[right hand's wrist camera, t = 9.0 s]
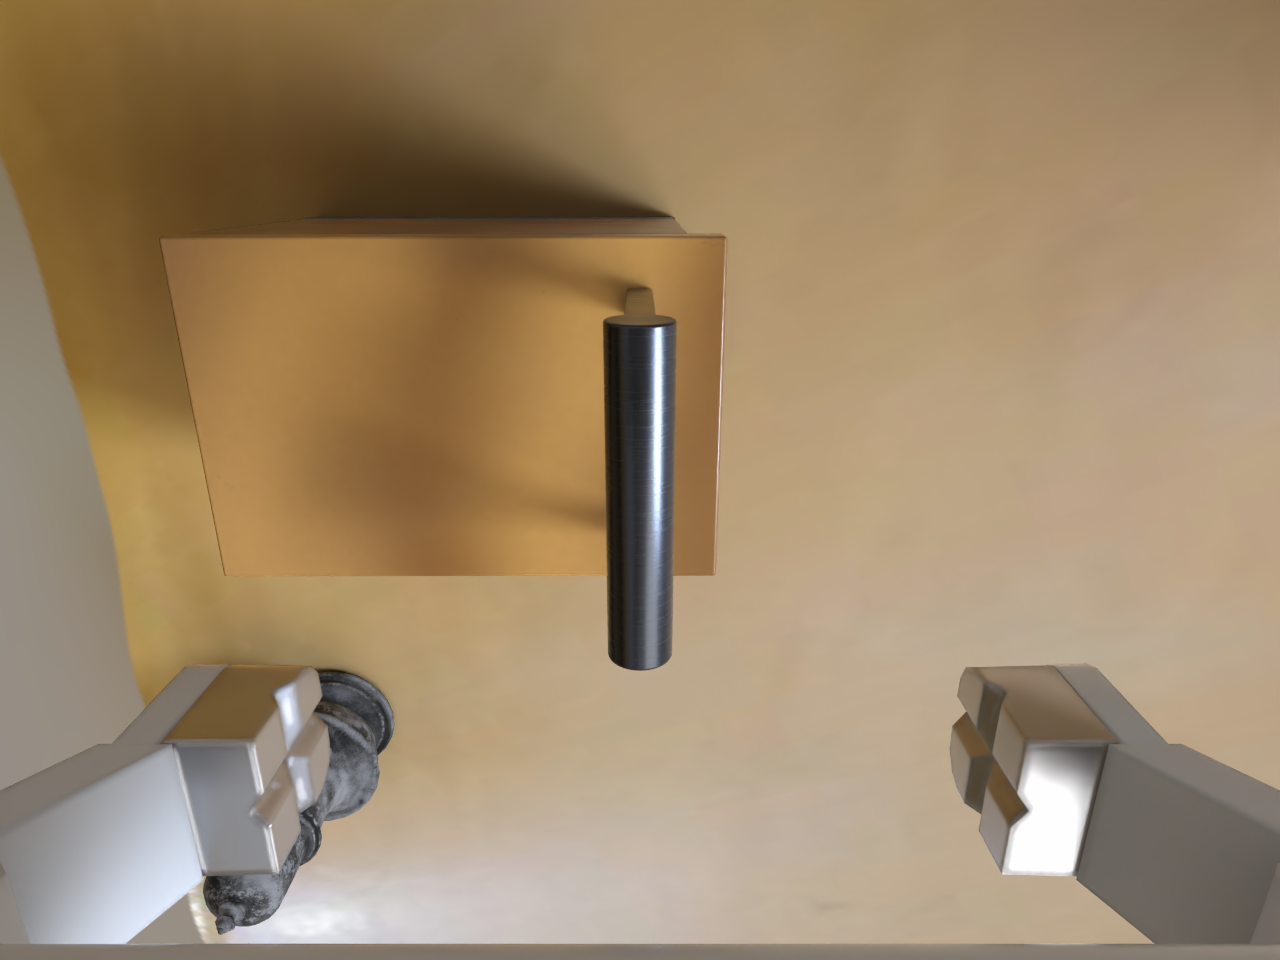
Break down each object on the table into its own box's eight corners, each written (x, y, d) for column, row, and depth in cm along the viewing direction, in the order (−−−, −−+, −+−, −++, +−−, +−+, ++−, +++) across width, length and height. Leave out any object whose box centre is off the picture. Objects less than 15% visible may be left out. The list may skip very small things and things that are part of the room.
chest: (673, 216, 32) (688, 233, 22) (670, 457, 35) (682, 559, 26) (316, 217, 32) (179, 233, 22) (347, 457, 35) (240, 560, 26)
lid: (723, 233, 22) (766, 260, 15) (712, 560, 26) (743, 715, 18) (179, 233, 22) (-51, 261, 15) (240, 560, 26) (78, 717, 18)
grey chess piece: (317, 783, 41) (195, 1013, 30) (253, 691, 39) (97, 899, 28) (422, 745, 40) (337, 966, 29) (362, 648, 38) (246, 845, 27)
